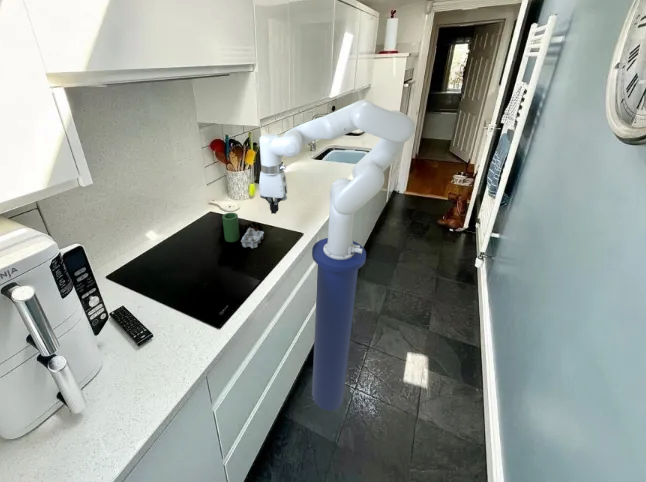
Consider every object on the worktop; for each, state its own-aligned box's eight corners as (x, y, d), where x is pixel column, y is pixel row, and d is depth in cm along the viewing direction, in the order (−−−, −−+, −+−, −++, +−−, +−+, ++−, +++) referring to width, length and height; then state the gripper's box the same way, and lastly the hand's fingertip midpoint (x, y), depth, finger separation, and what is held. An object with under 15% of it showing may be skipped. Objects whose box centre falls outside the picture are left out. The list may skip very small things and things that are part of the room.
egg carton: (250, 234, 137) (249, 226, 135) (265, 237, 134) (265, 228, 132) (239, 246, 128) (238, 238, 126) (255, 250, 125) (255, 241, 124)
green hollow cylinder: (242, 235, 136) (240, 213, 131) (235, 243, 130) (233, 220, 126) (229, 233, 138) (226, 211, 133) (222, 240, 132) (219, 218, 128)
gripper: (293, 166, 115) (295, 210, 123) (257, 164, 120) (260, 206, 128) (287, 172, 108) (289, 218, 116) (249, 170, 113) (253, 214, 121)
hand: (274, 212), depth 122 cm, fingers closed
